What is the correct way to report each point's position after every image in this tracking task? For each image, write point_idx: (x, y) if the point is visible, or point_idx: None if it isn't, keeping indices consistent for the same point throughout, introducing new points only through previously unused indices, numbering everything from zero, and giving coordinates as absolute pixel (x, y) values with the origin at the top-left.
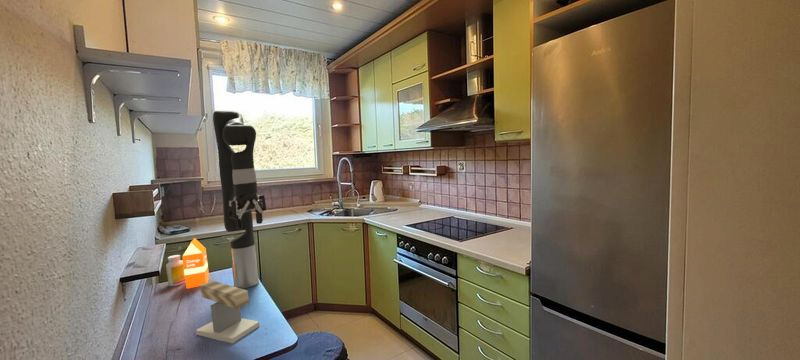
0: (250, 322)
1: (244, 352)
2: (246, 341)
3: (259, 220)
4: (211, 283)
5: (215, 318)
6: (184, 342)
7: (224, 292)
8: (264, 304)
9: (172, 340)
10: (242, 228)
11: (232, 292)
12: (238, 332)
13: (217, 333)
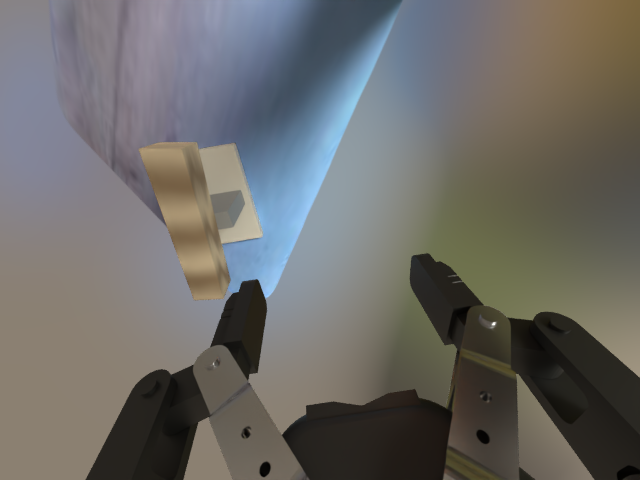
0: (251, 226)
1: None
2: (227, 253)
3: (419, 293)
4: (172, 173)
5: None
6: None
7: (182, 267)
8: (320, 163)
9: (123, 125)
10: (264, 308)
11: (196, 281)
12: (222, 238)
13: None
